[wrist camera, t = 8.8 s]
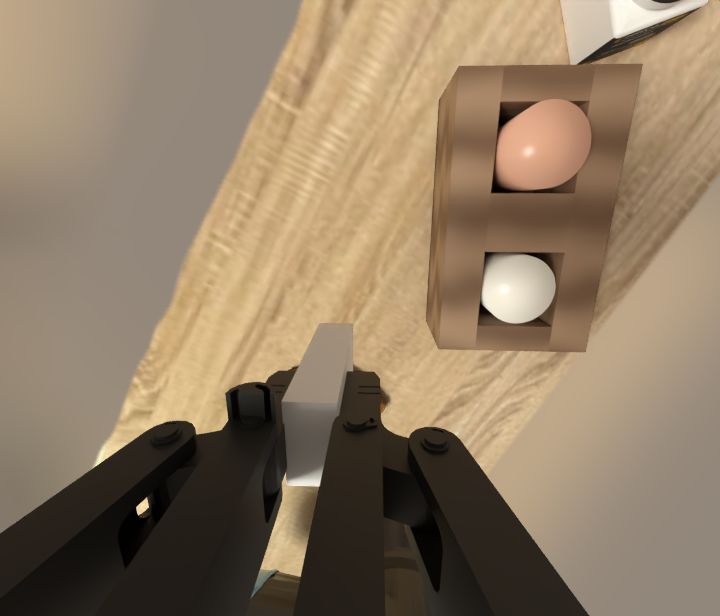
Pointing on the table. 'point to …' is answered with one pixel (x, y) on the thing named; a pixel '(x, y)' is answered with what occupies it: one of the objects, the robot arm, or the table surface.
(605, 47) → the medicine bottle
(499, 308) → the white egg in box
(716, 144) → the table surface
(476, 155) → the wooden egg holder
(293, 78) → the table surface
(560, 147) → the pink egg shaped ball
